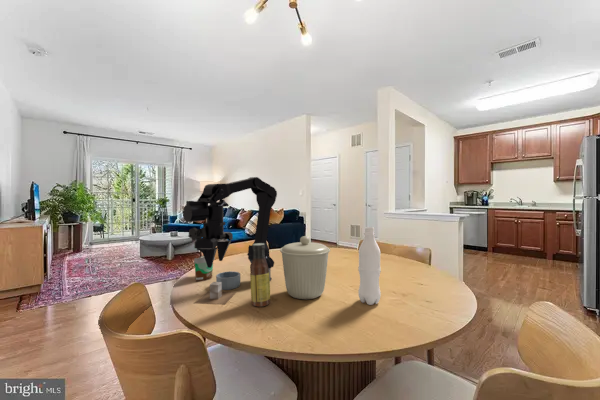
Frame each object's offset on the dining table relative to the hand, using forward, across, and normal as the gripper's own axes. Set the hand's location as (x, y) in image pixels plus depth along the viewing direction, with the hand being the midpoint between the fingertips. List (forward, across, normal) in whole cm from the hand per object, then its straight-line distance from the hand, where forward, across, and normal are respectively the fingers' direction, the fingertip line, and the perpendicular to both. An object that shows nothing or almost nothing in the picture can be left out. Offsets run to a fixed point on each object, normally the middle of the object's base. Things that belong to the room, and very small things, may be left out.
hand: (215, 264), depth 95 cm
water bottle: (+12, -1, +53) cm, 54 cm away
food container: (+12, -21, -13) cm, 27 cm away
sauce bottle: (+12, +4, +17) cm, 21 cm away
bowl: (+12, -12, 0) cm, 17 cm away
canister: (+12, -6, +31) cm, 34 cm away
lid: (+12, 0, 0) cm, 12 cm away
